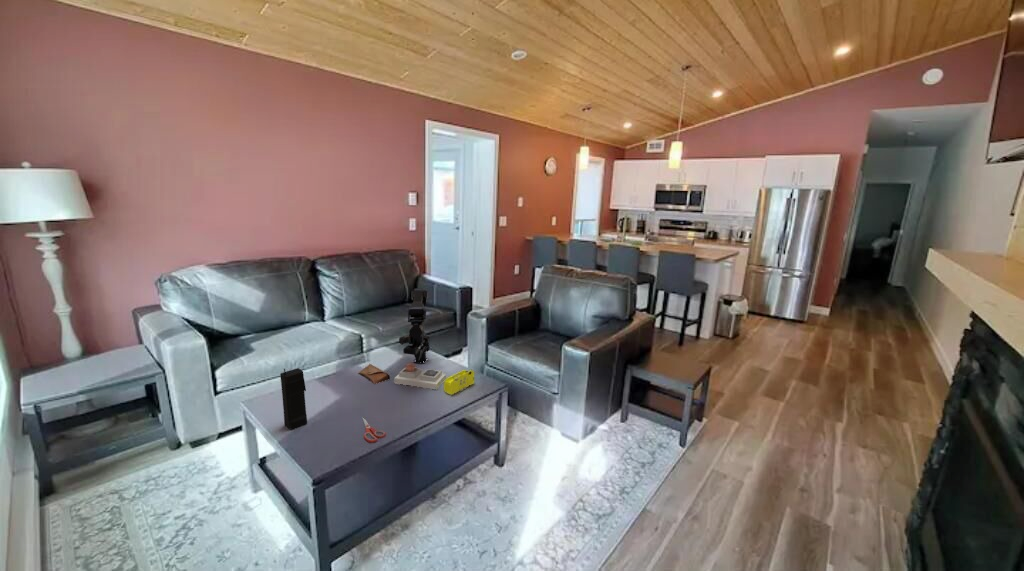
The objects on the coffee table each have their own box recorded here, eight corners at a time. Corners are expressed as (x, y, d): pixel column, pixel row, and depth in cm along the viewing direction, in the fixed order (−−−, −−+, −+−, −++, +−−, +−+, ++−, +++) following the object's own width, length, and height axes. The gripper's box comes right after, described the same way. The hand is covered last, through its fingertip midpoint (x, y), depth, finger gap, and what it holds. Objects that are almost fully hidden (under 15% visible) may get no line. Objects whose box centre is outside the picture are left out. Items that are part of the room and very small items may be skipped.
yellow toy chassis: (452, 396, 193) (452, 380, 191) (443, 393, 196) (443, 376, 194) (474, 384, 206) (475, 369, 204) (466, 381, 209) (466, 365, 207)
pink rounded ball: (408, 367, 209) (408, 362, 209) (416, 369, 208) (416, 363, 208) (404, 371, 205) (404, 366, 204) (412, 372, 204) (412, 367, 203)
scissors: (363, 415, 175) (363, 412, 175) (388, 437, 161) (388, 434, 160) (345, 422, 170) (345, 419, 169) (370, 445, 155) (369, 442, 155)
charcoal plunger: (428, 374, 207) (428, 369, 207) (437, 375, 206) (436, 370, 206) (424, 378, 203) (424, 373, 202) (433, 379, 202) (433, 374, 201)
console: (406, 373, 215) (405, 364, 214) (446, 379, 210) (446, 369, 209) (394, 383, 203) (394, 373, 202) (436, 390, 198) (436, 380, 197)
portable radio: (303, 417, 172) (298, 360, 166) (310, 422, 168) (306, 364, 162) (283, 424, 166) (278, 366, 160) (290, 430, 162) (284, 371, 156)
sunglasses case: (355, 373, 213) (361, 360, 214) (367, 375, 218) (372, 363, 219) (375, 384, 201) (381, 371, 203) (386, 387, 207) (392, 374, 208)
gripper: (410, 323, 211) (410, 351, 215) (392, 335, 194) (393, 366, 197) (430, 325, 209) (430, 354, 213) (414, 338, 192) (415, 369, 195)
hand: (417, 360), depth 205 cm, fingers closed
